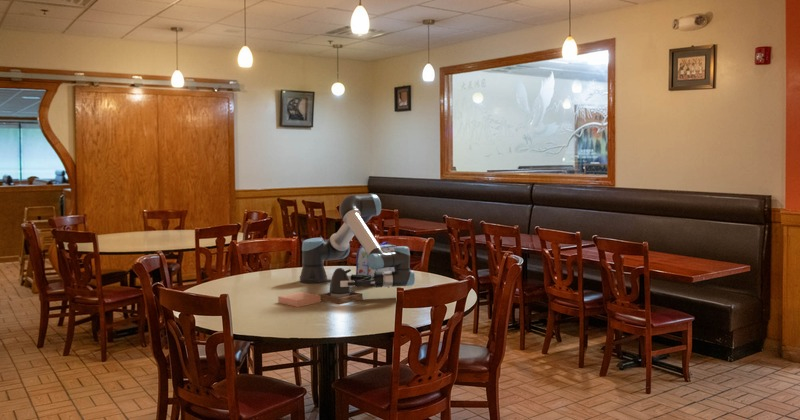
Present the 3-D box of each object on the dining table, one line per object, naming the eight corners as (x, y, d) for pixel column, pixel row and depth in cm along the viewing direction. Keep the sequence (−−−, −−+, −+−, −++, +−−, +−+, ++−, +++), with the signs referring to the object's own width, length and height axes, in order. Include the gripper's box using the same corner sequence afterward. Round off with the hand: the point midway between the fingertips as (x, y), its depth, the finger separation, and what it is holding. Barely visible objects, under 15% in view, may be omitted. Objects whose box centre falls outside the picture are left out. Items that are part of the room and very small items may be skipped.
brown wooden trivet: (341, 294, 335) (341, 289, 335) (362, 298, 325) (362, 293, 325) (318, 299, 324) (318, 294, 324) (339, 304, 314) (339, 298, 314)
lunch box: (385, 278, 380) (385, 239, 379) (400, 279, 374) (400, 240, 372) (353, 285, 359) (353, 244, 357) (368, 287, 352) (368, 246, 351)
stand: (301, 297, 329) (301, 291, 329) (320, 301, 319) (320, 295, 319) (278, 302, 319) (278, 296, 318) (297, 306, 309) (297, 300, 309)
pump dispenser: (352, 301, 321) (351, 269, 319) (330, 301, 319) (329, 270, 318) (350, 296, 331) (349, 265, 329) (328, 297, 329) (328, 266, 328)
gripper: (387, 292, 316) (341, 294, 312) (378, 282, 340) (336, 284, 336) (387, 276, 315) (341, 278, 311) (378, 267, 339) (336, 269, 335)
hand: (338, 281), depth 324 cm, fingers open, 13 cm apart
